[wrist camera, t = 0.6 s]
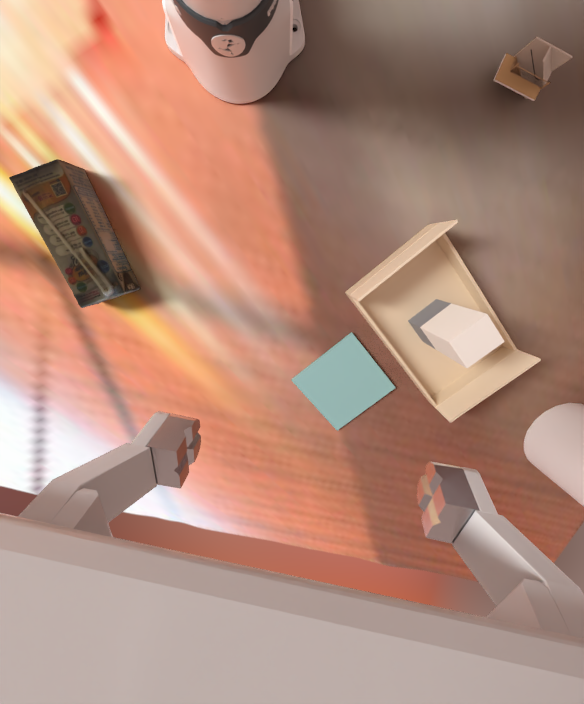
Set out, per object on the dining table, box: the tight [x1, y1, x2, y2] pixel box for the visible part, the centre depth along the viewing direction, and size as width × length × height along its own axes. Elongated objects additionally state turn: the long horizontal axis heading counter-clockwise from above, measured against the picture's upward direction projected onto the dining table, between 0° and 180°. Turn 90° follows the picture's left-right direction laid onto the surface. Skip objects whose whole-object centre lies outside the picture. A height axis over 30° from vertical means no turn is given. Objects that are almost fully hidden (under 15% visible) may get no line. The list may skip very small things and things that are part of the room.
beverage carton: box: [9, 160, 140, 308], centre depth 47 cm, size 8×19×7 cm, turn 18°
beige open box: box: [345, 220, 541, 423], centre depth 53 cm, size 17×27×8 cm, turn 40°
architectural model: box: [493, 36, 573, 101], centre depth 43 cm, size 3×7×7 cm, turn 70°
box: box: [408, 299, 505, 368], centre depth 49 cm, size 6×5×14 cm
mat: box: [292, 332, 395, 430], centre depth 59 cm, size 14×14×1 cm
